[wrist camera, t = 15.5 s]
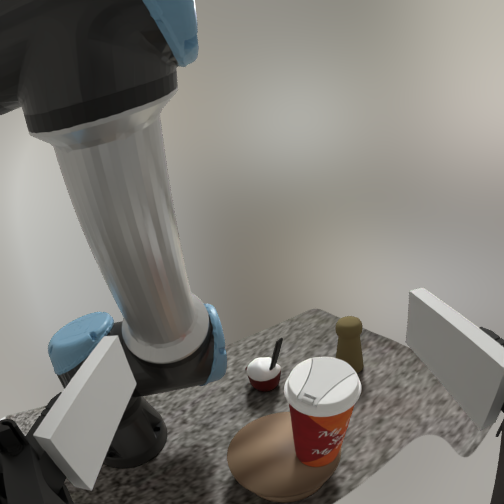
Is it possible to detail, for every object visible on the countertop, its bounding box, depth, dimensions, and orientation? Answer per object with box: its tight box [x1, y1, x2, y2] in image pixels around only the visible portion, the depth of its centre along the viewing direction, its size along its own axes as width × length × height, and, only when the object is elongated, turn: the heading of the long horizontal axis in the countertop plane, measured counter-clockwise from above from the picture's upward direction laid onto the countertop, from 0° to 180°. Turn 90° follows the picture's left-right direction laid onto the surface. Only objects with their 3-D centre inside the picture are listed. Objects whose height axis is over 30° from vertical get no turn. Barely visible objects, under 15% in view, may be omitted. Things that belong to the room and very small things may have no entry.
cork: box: [336, 316, 363, 373], centre depth 55 cm, size 6×6×11 cm
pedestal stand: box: [227, 412, 341, 503], centre depth 34 cm, size 15×15×6 cm
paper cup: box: [284, 357, 361, 467], centre depth 30 cm, size 8×8×14 cm
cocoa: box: [246, 338, 283, 391], centre depth 54 cm, size 10×6×12 cm, turn 28°
